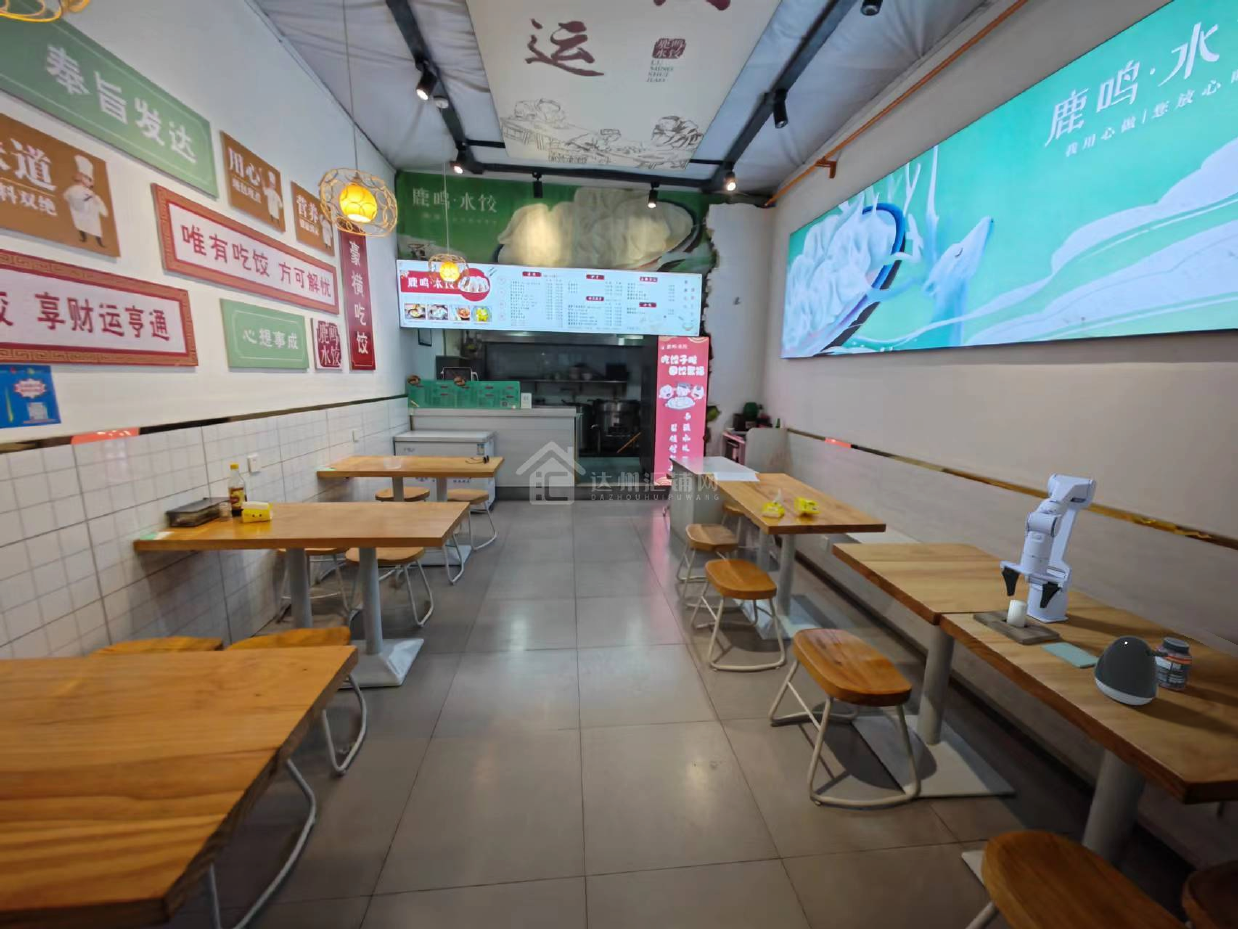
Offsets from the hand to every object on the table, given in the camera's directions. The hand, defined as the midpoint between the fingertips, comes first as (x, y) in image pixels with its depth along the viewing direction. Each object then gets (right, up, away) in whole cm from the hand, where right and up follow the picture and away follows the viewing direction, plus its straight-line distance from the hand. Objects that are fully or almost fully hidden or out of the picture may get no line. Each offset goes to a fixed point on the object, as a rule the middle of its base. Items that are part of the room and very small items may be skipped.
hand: (1026, 601), depth 133 cm
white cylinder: (+2, -10, +6) cm, 12 cm away
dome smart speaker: (+2, -16, -23) cm, 28 cm away
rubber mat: (+6, -12, -7) cm, 15 cm away
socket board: (+2, -10, +6) cm, 12 cm away
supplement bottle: (+18, -15, -18) cm, 30 cm away
